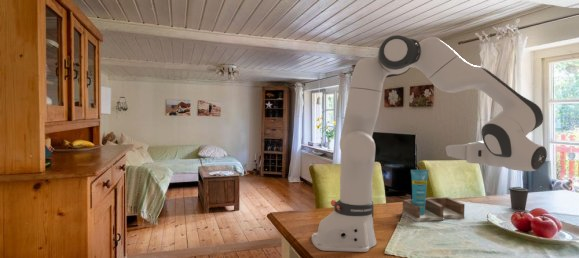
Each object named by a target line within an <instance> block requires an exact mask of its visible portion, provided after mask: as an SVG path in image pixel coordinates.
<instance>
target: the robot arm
mask: <svg viewBox="0 0 579 258" xmlns="http://www.w3.org/2000/svg"><path fill="white" fill-rule="evenodd" d="M411 68H412V69H413V68H414V69H417V70H419V72H421V73H423V74H424V76H425V77H426V78H427V79H428V80H429V81H430V83H432V84H433V86H434V87H435V88H437V90H439V91H441V92H444V93H453V94H455V93H460V92H463V91H469V90H478V91H480V92H483V93H484V94H486V95H487V96H488V97H490V98H491V99H492V100H493V101H494V102H496V103H497V104H498V105H499V106H500V107H501V108H502V110H501V111H500V112H499V113H498V114H496V115H495V116H494V117H491V119H489V121H488V122H486V123H485V124H484V125H483V126H482V127H481V131H480V132H481V133H480V134H481V139H482V140H479V141H475V142H468V143H466V144H450V145H447V146H445V151H446V156H447V157H450V158H454V159H457V160H461V161H462V160H463V161H466V163H469V164H479V165H484V166H490V167H494V168H506V169H507V170H513V171H517V172H518V171H520V172H534V171H535V172H536V171H537V170H539V169H541V167H543V165H544V164H545V163H546V160H547V158H548V157H547V156H548V151H547V148H546V147H545V146H543V145H541V144H537V143H535V142H533V140H531V139H530V138H528V136H527V135H528V134H530V133H531V132H533V131H535V130H536V129H537V128H539V127H540V126H541V125H542V124H543V122H544V114H543V111H542V109H541V107H540V106H539V105H538V104H537V103H535V102H534V101H532V100H530V99H528V98H526V97H525V96H523V95H522V94H520V93H519V92H517V91H516V90H515V89H513V88H512V87H511V86H510V85H508V84H507V83H506V82H504V81H503V80H502V79H500V78H499V77H498V76H497V75H496V74H494V73H492V72H491V71H489V69H487V68H485V67H483V66H481V65H473V64H472V63H470V62H468V61H466V60H465V59H464V58H462V57H461V56H460V55H459V54H458V53H457V52H456V51H455V50H454V49H453V48H452V47H450V45H448V44H447V43H446V42H444V41H443V40H441V39H440V38H439V37H436V36H429V37H426V38H424V39H422V40H420V41H418V40H417V39H413V38H410V37H407V36H403V35H399V34H398V35H397V34H396V35H391V36H388V37H387V38H386V39H384V40H383V42H382V43H381V44H380V46H379V48H378V55H376V56H375V57H364V58H361V59H359V60H358V61H357V62H356V64H355V67H354V69H353V71H352V76H351V78H350V83H349V89H348V96H347V102H346V109H345V113H344V116H343V117H344V118H343V123H342V128H341V132H340V133H341V134H340V140H339V149H340V152H341V153H340V174H339V175H340V176H339V177H340V178H339V179H340V180H339V199H338V200H337V201H336V200H335V199H331V201H330V205H331V206H332V207H333V209H334V210H333V211H332V212H331V213H329V214H328V215H327V216H325V217H324V218H323V219H321V220H320V222H319V224H318V228H317V229H318V230H317V232H313V233H312V235H311V240H310V241H311V243H312V245H313V246H314V247H315V248H316V249H318V250H320V251H324V252H326V251H328V252H329V251H330V252H356V253H357V252H359V253H366V252H369V250H370V249H371V248H373V247H375V246H376V245H377V239H376V234H375V229H374V219H373V218H374V213H375V212H374V211H375V210H374V202H373V178H374V170H375V160H376V159H375V158H376V143H375V140H374V138H373V134H374V130H375V127H376V123H377V119H378V117H379V112H380V106H381V100H382V94H383V88H384V83H385V81H386V78H391V77H398V76H401V75H404V74H406V73H407V72H408V71H409V70H410V69H411Z"/></svg>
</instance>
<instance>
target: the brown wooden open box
mask: <svg viewBox="0 0 579 258" xmlns="http://www.w3.org/2000/svg"><path fill="white" fill-rule="evenodd" d="M443 208H444V206H442V205H437V204H435V203H433V202H431V201H429V199H426V200H425V214H424V215H420V207H419V206H417V205H415V204H413V203H412V198H411V199H402V214H404V215H405V214H406V215H405V216H407V217H408V216H409V218H410V219H412V220H413V221H415V222H416V221H417V222H432V221H431V220H441V221H444V219H443Z"/></svg>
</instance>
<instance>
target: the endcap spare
mask: <svg viewBox="0 0 579 258" xmlns="http://www.w3.org/2000/svg"><path fill="white" fill-rule="evenodd" d="M426 199H429V201H431V202H433V203H435V204H437V205H442V206H444V208H443V218H450V219H464V218H465V207H466V206H465V203H464V202H460V201H458V200H455V199H453V198H451V197H448V196H444V197H443V196H439V197H426Z"/></svg>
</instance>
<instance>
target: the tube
mask: <svg viewBox="0 0 579 258" xmlns="http://www.w3.org/2000/svg"><path fill="white" fill-rule="evenodd" d="M410 175H411V196H412V197H411V199H412V203H413V204H415V205H417V206H419V207H420V215H424V214H425V200H426V198H427V186H428V178H429V177H428V176H429V169H410Z"/></svg>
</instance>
